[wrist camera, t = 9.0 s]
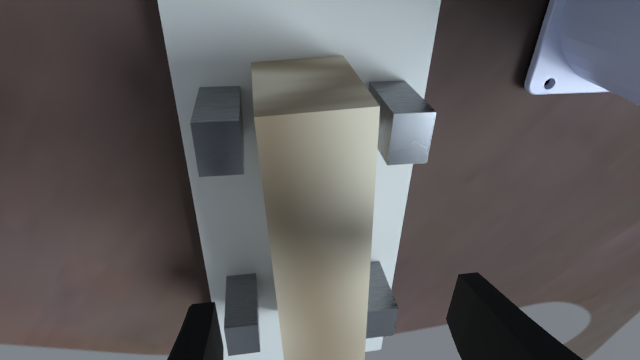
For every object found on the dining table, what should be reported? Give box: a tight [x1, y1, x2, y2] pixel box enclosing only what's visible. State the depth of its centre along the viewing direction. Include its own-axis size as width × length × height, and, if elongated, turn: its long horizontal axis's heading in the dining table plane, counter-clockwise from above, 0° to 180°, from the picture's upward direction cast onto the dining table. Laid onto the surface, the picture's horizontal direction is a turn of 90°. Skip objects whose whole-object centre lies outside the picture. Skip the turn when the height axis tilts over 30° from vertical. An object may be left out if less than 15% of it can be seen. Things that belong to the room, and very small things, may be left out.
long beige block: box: [251, 56, 380, 360], centre depth 17 cm, size 4×14×5 cm, turn 2°
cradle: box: [157, 0, 441, 360], centre depth 18 cm, size 10×24×4 cm, turn 179°
